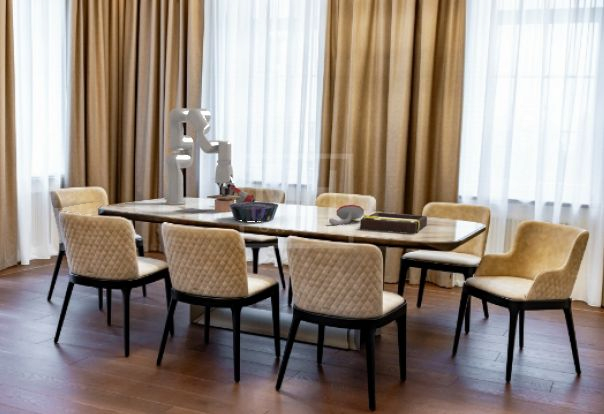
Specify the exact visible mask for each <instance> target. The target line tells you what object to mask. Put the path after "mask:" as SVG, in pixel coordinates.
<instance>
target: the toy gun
mask: <svg viewBox="0 0 604 414" xmlns="http://www.w3.org/2000/svg"><path fill="white" fill-rule="evenodd" d="M235 194H237V196H241V198H235V200H234V203H243V202H256V198H255V195H254V194H249V193H248V192H246V191H243V190H242V189H240V188H238V187H236V185H235V184H233V185H232V186H231V187H230V188H229V195H235Z"/></svg>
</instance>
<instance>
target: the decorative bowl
mask: <svg viewBox="0 0 604 414" xmlns="http://www.w3.org/2000/svg"><path fill="white" fill-rule="evenodd" d="M278 207H279V204H278V203H275V202H265V201H255V202H243V203H236V202H234V203H232V204H230V208H231V211H232V212H231V214H232V217H233V218H234V220H235V221H237V220H242V221H255V222H257V221H265V222H269V221H268V220H270V221H272V220H274V218H275V215H276V213H277V210H278ZM257 223H258V222H257Z"/></svg>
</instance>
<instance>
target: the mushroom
mask: <svg viewBox="0 0 604 414" xmlns="http://www.w3.org/2000/svg"><path fill="white" fill-rule="evenodd" d="M364 215H365V210H364V208H362V207H361V206H360V205H355V204H346V205H343V206H339V208H338V209H337V210H336V216H337V217H338V218H335V217H330V218H329V220H328V222H329V224H331V225H333V226H339V224H341V225H345V224H349V223H350V222H351V221H355V220H358V219H362V218H363V217H364Z"/></svg>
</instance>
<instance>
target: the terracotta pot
mask: <svg viewBox="0 0 604 414" xmlns="http://www.w3.org/2000/svg"><path fill="white" fill-rule="evenodd" d="M232 203H235V199H228V200H223V199H214V212H216V213H232V211H231V208H230V204H232Z"/></svg>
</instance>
